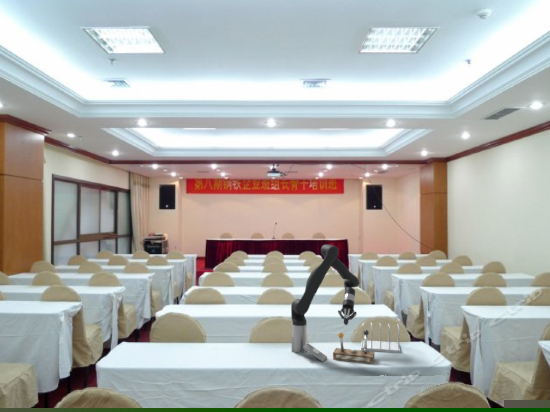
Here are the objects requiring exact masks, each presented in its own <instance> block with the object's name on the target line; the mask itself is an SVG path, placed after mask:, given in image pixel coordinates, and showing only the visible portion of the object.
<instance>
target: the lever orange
mask: <svg viewBox="0 0 550 412" xmlns="http://www.w3.org/2000/svg"><path fill="white" fill-rule="evenodd" d="M337 336H338V338H339V341H340V343H339V344H340V348H341V351H344V349H345V348H344V337H345V336H344V333H343V332H339V333H338V335H337Z"/></svg>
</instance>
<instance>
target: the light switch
mask: <svg viewBox="0 0 550 412" xmlns="http://www.w3.org/2000/svg"><path fill="white" fill-rule="evenodd" d="M303 348H304V349H305V350H306V352H308V353H309V354H311V355H312V356H314V357H315V358H317V359H318V360H319V361H320V362H322V363H324V362H325V361H326V359H327V357H328V356H327V355H326V354H324V353H323V352H321V351H320V350H319V349H317V348H315V347H314V346H312V345H311V344H310V343H308V342H307V344H306V345H305V346H304V347H303Z"/></svg>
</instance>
